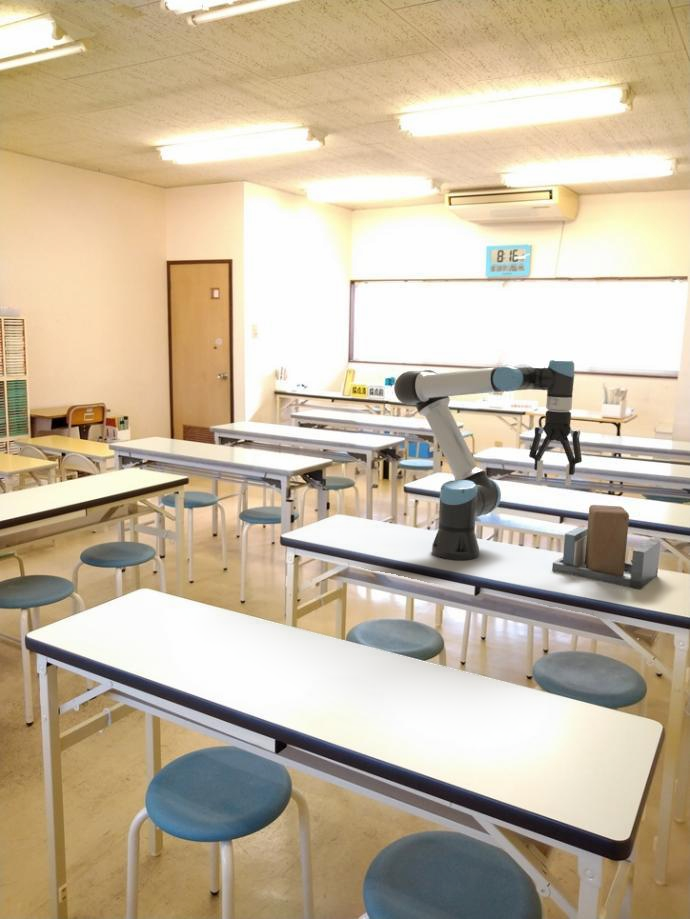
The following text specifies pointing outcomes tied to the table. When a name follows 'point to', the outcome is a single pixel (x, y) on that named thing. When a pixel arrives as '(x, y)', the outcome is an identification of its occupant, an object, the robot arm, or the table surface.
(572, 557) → the block
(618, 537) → the wooden block
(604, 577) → the vise bed
